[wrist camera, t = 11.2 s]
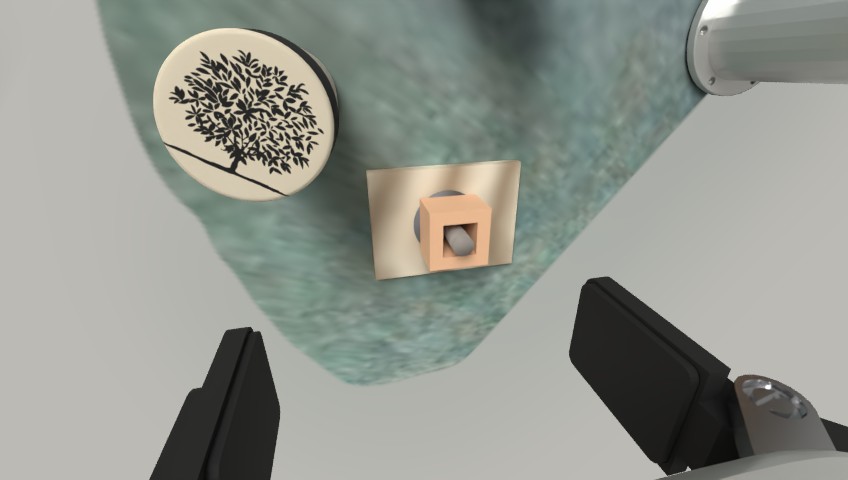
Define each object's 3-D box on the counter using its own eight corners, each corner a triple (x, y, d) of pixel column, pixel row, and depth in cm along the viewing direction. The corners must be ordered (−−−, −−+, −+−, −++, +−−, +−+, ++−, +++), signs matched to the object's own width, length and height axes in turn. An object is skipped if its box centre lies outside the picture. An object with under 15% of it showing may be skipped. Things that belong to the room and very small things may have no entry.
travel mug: (272, 22, 30) (200, -29, 14) (354, 87, 33) (372, 105, 17) (223, 105, 32) (111, 143, 16) (307, 159, 35) (283, 236, 19)
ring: (475, 194, 39) (491, 208, 35) (472, 245, 41) (487, 264, 37) (419, 198, 37) (429, 213, 34) (420, 251, 40) (429, 271, 36)
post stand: (516, 159, 40) (550, 177, 33) (507, 258, 45) (535, 290, 38) (365, 170, 37) (372, 191, 30) (374, 274, 42) (382, 312, 35)
